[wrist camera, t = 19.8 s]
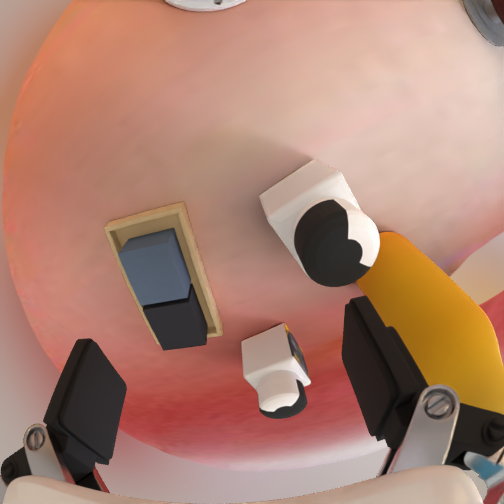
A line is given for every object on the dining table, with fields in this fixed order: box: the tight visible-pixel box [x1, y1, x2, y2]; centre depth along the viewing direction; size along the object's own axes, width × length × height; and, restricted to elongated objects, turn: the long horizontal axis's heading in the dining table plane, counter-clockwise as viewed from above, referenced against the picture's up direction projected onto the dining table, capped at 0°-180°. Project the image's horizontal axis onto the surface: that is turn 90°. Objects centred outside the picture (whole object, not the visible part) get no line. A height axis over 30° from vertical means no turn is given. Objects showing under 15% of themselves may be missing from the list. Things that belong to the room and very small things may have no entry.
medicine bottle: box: [241, 323, 311, 419], centre depth 36 cm, size 7×7×12 cm
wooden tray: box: [104, 202, 223, 344], centre depth 34 cm, size 18×10×2 cm, turn 11°
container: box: [259, 159, 380, 287], centre depth 26 cm, size 8×8×13 cm
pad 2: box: [143, 283, 208, 350], centre depth 34 cm, size 7×6×4 cm
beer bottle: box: [356, 232, 504, 415], centre depth 23 cm, size 9×9×29 cm
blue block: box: [118, 228, 191, 306], centre depth 31 cm, size 7×6×4 cm
